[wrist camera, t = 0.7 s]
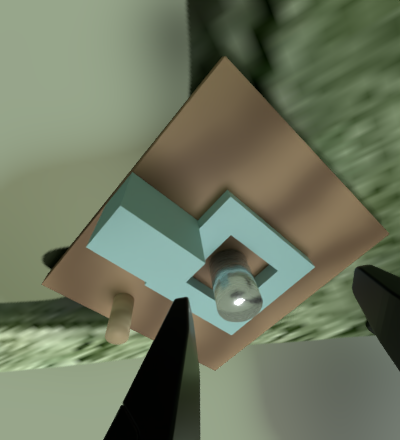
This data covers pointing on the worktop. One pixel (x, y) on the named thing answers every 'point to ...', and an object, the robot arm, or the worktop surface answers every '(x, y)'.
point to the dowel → (120, 319)
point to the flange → (190, 246)
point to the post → (234, 286)
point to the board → (246, 192)
